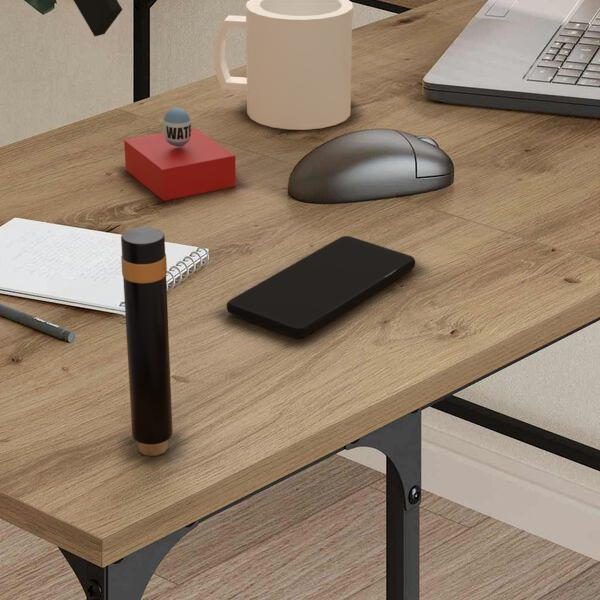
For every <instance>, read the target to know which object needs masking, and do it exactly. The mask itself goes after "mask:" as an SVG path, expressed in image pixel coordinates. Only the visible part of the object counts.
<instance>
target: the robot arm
mask: <svg viewBox="0 0 600 600" xmlns="http://www.w3.org/2000/svg"><path fill="white" fill-rule="evenodd" d="M73 2H74V4H75V6H76V7H77V9H78V10H79V11H78V12H79V13H80V15H81V16H82V18H83V19H84V21H85V23H86V24H87V26H88V28H89V29H90V31H91V33H92V35H93V36H94V37H99V36H103V35H106V33H107V31H108V30H109V29H110V28H111V26H112V25H113V23H114V22H115V21H116V19H117V18H118V17H119V15H120V14H121V12H123V8H122V6H121V4H120V3H119V1H118V0H73Z"/></svg>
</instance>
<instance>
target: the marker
mask: <svg viewBox="0 0 600 600" xmlns="http://www.w3.org/2000/svg"><path fill="white" fill-rule="evenodd" d="M165 238H166V237H165V233H164V232H163V230H161V229H158V228H155V227H149V226H140V227H133V228H130V229H128V230H126V231H124V232H123V233H122V234H121V236H120V243H121V256H120V258H121V260H120V261H121V275H122V277H123V278H122V279H123V297H124V313H125V314H124V315H125V331H126V332H125V333H126V348H127V349H126V351H127V366H128V369H127V370H128V385H129V403H130V419H131V420H130V421H131V422H130V423H131V436H132V438H133V439H134V440H135V442H137V450H138V452H139V453H140V454H142V455H144V456H146V457H147V456H148V457H156V456H160V455H163V454H165V453H166V452H167V451H168V448H169V440H170V439H171V438H172V436H173V431H174V430H173V410H172V408H173V407H172V385H171V383H172V382H171V361H170V359H171V357H170V341H169V340H170V336H169V334H170V333H169V311H168V287H167V284H168V283H167V273H168V266H167V265H168V263H167V253H166V239H165Z"/></svg>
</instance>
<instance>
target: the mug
mask: <svg viewBox="0 0 600 600" xmlns="http://www.w3.org/2000/svg"><path fill="white" fill-rule="evenodd" d="M353 7H354V3H353V2H352V1H350V0H248V1H246V4H245V15H233V14H232V15H231V14H228V15H227V16H226V18H224V20H223V22H222V24H221V25H220V28H219V30H218V32H217V34H216V37H215V38H214V40H213V66H212V67H213V70H214V71H215V75H216V79H217V81H218V84H219V88H220V89H221V90H232V91H246V114H247V115H248V117H249V118H250V119H251V120H252V121H254V122H256V123H258V124H260V125H263V126H266V127H270V128H275V129H283V130H297V131H299V130H302V131H303V130H304V131H307V130H317V129H324V128H328V127H333V126H336V125H339V124H341V123H343V122H345V121H347V119H349V118H350V116H351V101H352V61H353V60H352V59H353V57H352V55H353V54H352V53H353V13H354V10H353V9H354V8H353ZM231 29H239V30H240V29H241V30H245V44H246V45H245V47H246V48H245V49H246V51H245V54H246V59H245V60H246V77H244V76H243V77H241V76H232V75H231V74H230V71H229V67H228V64H227V62H226V39H227V36H228V34H229V32H230V30H231Z"/></svg>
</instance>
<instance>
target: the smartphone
mask: <svg viewBox="0 0 600 600" xmlns="http://www.w3.org/2000/svg"><path fill="white" fill-rule="evenodd" d="M414 267H416V259H415V258H414V256H412V255H411V254H410V255H409V254H406V253H403V252H400V251H397V250H394V249H391V248H388V247H385V246H380V245H378V244H375V243H372V242H370V241H365V240H363V239H359V238H356V237H353V236H350V235H343V236H340V237H338V238H336V239H335V240H333V241H331V242H330V243H328V244H326V245H324V246H322V247H321V248H319V249H317V250H316V251H314V252H312V253H310V254H309V255H306V256H305V257H304V258H302V259H300V260H298V261H296V262H295V263H293V264H291V265H289V266H288V267H285V268H283V269H282V270H280V271H279V272H277V273H275V274H272V275H271V276H269V277H268V278H266V279H264V280H263V281H261V282H259V283H257V284H255V285H254V286H252V287H250V288H248V289H246V290H245V291H243V292H242V293H240V294H238V295H236V296H234V297H233V298H231V299H229V300H228V302H227V303H226V310H227V312H228V313H229V314H230V315H233V316H235V317H239V318H241V319H244V320H246V321H249V322H252V323H255V324H257V325H259V326H262V327H265V328H267V329H271V330H272V331H276V332H278V333H282V334H284V335H286V336H289V337H292V338H295V339H302V338H306V337H307V336H308V335H310V334H312V333H313V332H315V331H316V330H318V329H319V328H321V327H323V326H324V325H326V324H328V323H330V321H333V320H334V319H335V318H337V317H339V316H340V315H342V314H344V313H345V312H347V311H348V310H349V309H351V308H354V306H356V305H358V304H359V303H361V302H362V301H363V300H365V299H367V298H368V297H370V296H372V295H373V294H375V293H376V292H378V291H380V290H381V289H383V288H384V287H386V286H387V285H389V284H391V283H392V282H394V281H395V280H397V279H399V278H400V277H401V276H403V275H405V274H407V273H408V272H410V271H411V270H412V269H413V268H414Z"/></svg>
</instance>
